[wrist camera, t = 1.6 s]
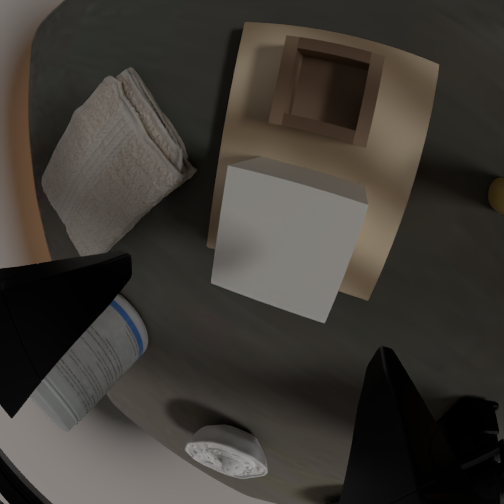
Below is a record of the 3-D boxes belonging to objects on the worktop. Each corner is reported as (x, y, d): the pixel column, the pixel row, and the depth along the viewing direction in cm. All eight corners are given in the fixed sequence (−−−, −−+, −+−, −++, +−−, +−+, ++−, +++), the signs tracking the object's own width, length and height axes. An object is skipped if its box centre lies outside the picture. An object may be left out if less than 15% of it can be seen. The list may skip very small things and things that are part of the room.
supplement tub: (116, 272, 28) (7, 351, 15) (166, 345, 29) (82, 440, 17) (83, 297, 32) (1, 359, 20) (124, 355, 34) (55, 427, 21)
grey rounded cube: (333, 278, 18) (324, 323, 14) (243, 248, 20) (211, 283, 16) (364, 185, 15) (368, 205, 11) (261, 156, 17) (227, 165, 13)
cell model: (184, 412, 35) (160, 447, 29) (252, 410, 29) (230, 456, 23) (224, 450, 37) (206, 483, 31) (291, 451, 31) (276, 492, 25)
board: (367, 291, 19) (367, 332, 15) (214, 240, 22) (181, 266, 18) (434, 68, 12) (457, 50, 8) (251, 27, 15) (221, 2, 10)
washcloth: (210, 166, 20) (187, 172, 17) (101, 265, 29) (82, 277, 26) (136, 60, 18) (110, 56, 16) (54, 182, 27) (34, 188, 24)
